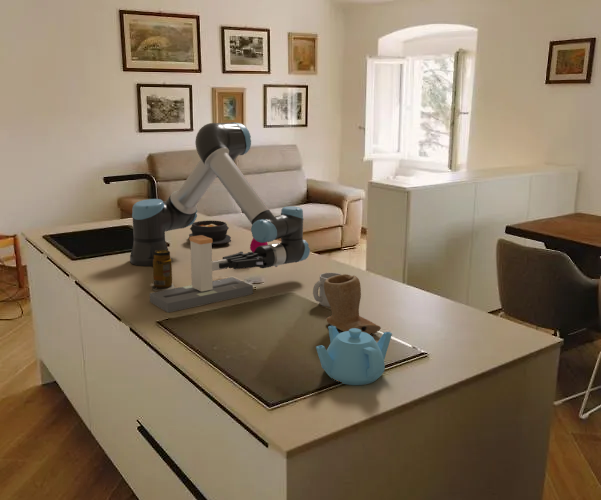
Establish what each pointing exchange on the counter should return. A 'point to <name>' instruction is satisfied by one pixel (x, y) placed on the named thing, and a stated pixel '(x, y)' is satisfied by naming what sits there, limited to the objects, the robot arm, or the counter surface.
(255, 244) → the pepper mill
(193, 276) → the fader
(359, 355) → the teapot
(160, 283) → the condiment
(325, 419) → the counter surface
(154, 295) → the console
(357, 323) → the brown boot
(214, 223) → the casserole
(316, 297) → the cup
